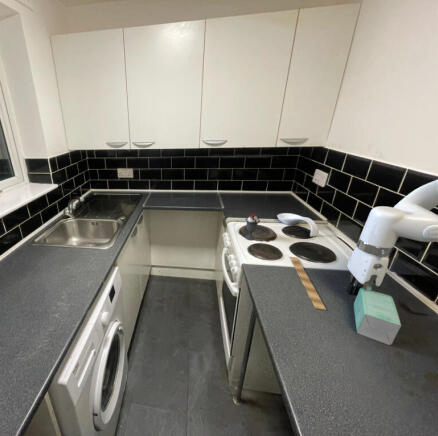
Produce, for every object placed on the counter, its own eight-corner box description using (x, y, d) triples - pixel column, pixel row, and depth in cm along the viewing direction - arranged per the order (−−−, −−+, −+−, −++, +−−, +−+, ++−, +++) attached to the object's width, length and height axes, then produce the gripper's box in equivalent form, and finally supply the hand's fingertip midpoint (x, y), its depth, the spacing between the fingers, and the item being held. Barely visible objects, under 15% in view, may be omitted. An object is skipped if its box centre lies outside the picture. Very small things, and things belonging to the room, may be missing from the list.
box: (383, 313, 71) (392, 295, 68) (391, 346, 62) (403, 326, 58) (352, 303, 75) (360, 285, 72) (355, 333, 66) (364, 314, 63)
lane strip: (289, 257, 100) (289, 256, 100) (297, 258, 100) (297, 257, 99) (315, 308, 74) (315, 307, 74) (326, 310, 73) (326, 309, 73)
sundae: (244, 240, 115) (248, 213, 109) (241, 234, 121) (245, 208, 115) (258, 241, 114) (263, 213, 107) (254, 235, 120) (259, 208, 113)
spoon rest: (271, 219, 136) (274, 208, 133) (288, 217, 138) (291, 206, 135) (305, 238, 115) (308, 225, 112) (324, 235, 117) (328, 222, 114)
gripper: (406, 263, 62) (379, 313, 69) (374, 236, 75) (354, 281, 82) (372, 259, 64) (350, 308, 71) (346, 234, 77) (330, 278, 84)
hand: (352, 293), depth 77 cm, fingers closed
